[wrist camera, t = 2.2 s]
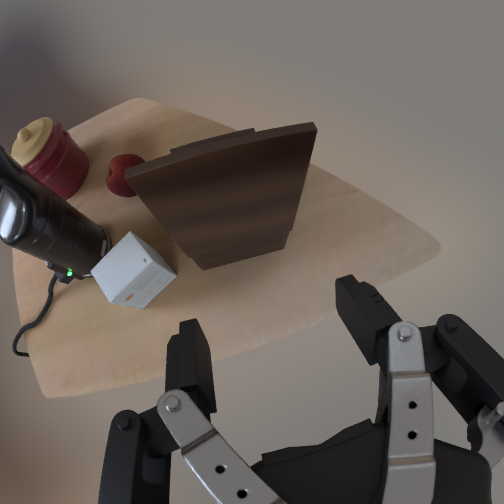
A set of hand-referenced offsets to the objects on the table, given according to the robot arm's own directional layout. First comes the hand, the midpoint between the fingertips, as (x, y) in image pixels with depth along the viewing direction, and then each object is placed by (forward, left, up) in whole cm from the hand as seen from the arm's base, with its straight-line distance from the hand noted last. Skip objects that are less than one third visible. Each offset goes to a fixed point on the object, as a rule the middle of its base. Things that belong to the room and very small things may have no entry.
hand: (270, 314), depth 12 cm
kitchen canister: (-12, +48, -29) cm, 57 cm away
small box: (-9, +16, -29) cm, 34 cm away
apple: (-1, +32, -29) cm, 43 cm away
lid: (+5, +9, -10) cm, 15 cm away
